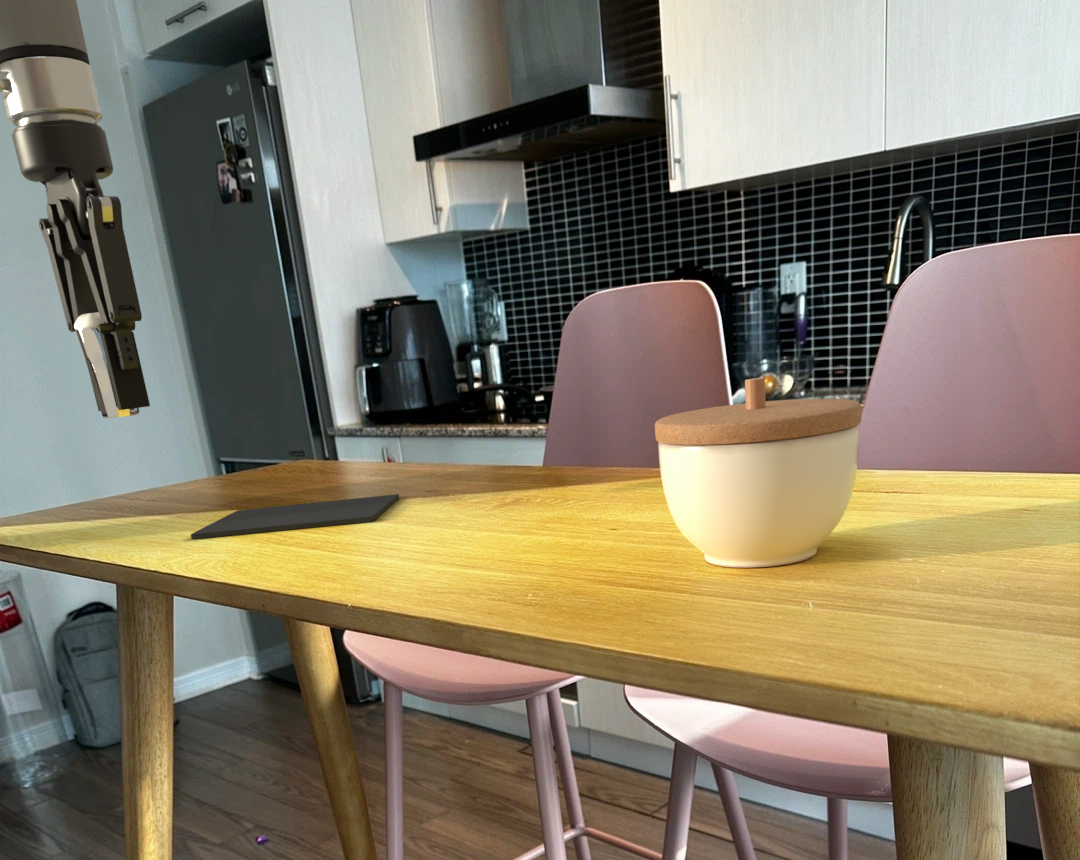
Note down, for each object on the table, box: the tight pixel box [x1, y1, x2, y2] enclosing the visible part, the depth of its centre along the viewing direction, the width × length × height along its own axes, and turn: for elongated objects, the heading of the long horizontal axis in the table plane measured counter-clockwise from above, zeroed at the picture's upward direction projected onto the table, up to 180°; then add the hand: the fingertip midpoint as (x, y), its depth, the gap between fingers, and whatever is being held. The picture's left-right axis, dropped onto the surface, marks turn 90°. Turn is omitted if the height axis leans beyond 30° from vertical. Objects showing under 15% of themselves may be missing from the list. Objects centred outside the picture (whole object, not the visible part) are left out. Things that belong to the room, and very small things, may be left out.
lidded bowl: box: [654, 377, 863, 569], centre depth 65 cm, size 13×13×11 cm
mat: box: [190, 493, 400, 540], centre depth 105 cm, size 18×14×1 cm
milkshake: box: [74, 312, 140, 419], centre depth 95 cm, size 4×5×10 cm
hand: (123, 408), depth 96 cm, fingers closed on milkshake, 4 cm apart
